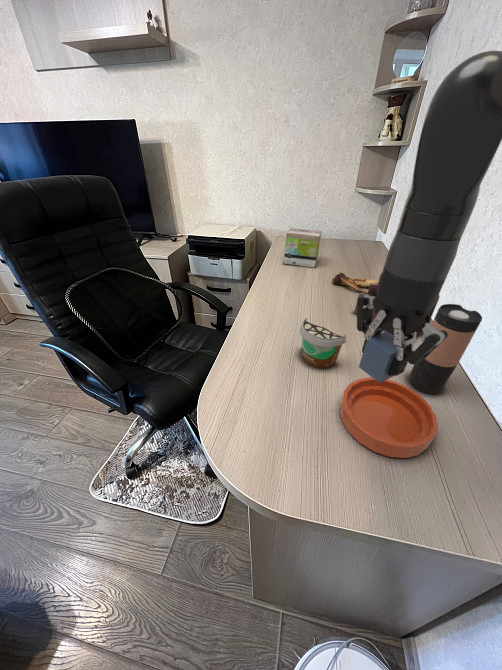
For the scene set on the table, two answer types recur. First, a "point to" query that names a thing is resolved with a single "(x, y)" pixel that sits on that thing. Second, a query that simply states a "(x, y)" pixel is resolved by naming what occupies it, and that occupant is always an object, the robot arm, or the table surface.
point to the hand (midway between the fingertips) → (379, 364)
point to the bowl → (388, 417)
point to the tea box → (302, 247)
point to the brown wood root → (353, 282)
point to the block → (378, 356)
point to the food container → (320, 345)
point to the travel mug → (445, 348)
